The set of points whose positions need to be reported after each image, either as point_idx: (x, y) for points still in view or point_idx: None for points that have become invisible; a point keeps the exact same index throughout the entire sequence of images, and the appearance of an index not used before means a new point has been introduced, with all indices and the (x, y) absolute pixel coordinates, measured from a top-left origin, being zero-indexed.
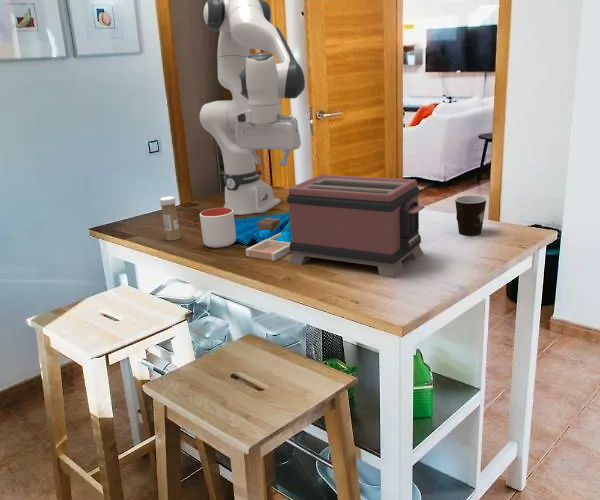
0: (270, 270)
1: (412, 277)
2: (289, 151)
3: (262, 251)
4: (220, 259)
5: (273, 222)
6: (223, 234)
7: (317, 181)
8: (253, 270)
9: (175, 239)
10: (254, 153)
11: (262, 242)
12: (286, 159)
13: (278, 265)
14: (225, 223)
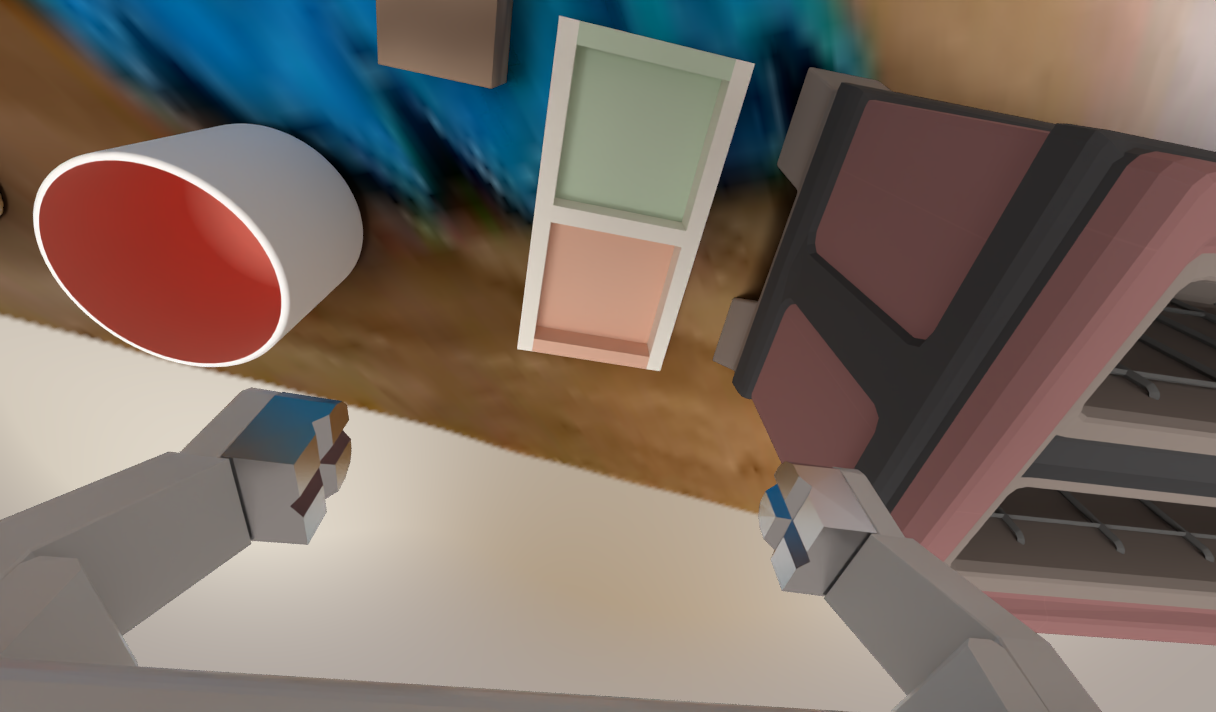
0: (676, 428)
1: None
2: (1055, 677)
3: (601, 357)
4: (443, 380)
5: (494, 48)
6: (331, 290)
7: (1091, 383)
8: (620, 438)
9: (2, 210)
10: (129, 554)
11: (542, 255)
12: (889, 540)
13: (687, 389)
14: (312, 301)
